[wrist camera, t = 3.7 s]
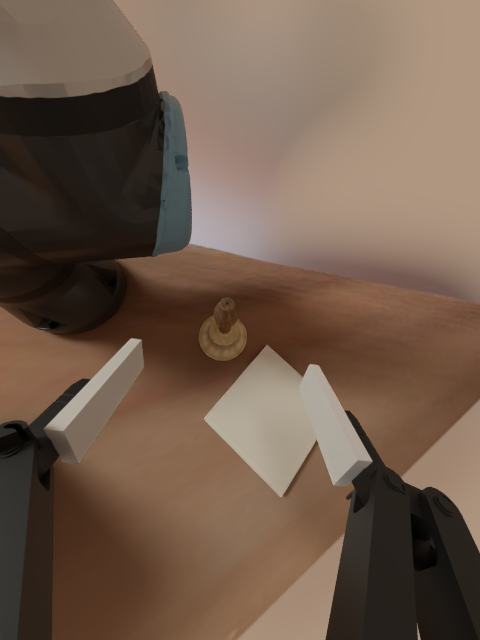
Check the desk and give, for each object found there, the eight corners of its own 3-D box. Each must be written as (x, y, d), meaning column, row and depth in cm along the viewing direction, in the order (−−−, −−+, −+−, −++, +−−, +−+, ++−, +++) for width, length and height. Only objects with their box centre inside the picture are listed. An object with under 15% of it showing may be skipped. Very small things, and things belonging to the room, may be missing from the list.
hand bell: (235, 369, 29) (255, 366, 14) (189, 348, 29) (161, 323, 14) (253, 325, 32) (287, 283, 17) (211, 306, 32) (207, 247, 17)
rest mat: (204, 417, 27) (203, 419, 26) (265, 345, 31) (267, 344, 30) (279, 494, 25) (281, 497, 25) (333, 406, 30) (336, 407, 29)
